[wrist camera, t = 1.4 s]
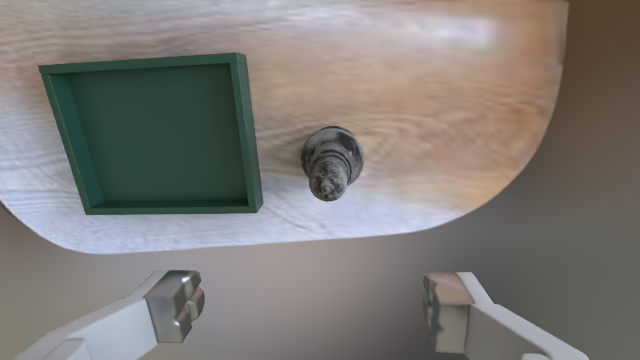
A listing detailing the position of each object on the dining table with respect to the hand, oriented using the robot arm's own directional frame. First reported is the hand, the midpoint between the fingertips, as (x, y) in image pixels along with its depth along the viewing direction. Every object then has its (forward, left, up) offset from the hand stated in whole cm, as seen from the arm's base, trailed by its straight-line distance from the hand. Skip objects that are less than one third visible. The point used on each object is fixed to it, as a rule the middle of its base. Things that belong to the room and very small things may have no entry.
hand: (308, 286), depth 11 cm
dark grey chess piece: (0, 0, -22) cm, 22 cm away
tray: (-2, -18, -22) cm, 28 cm away
